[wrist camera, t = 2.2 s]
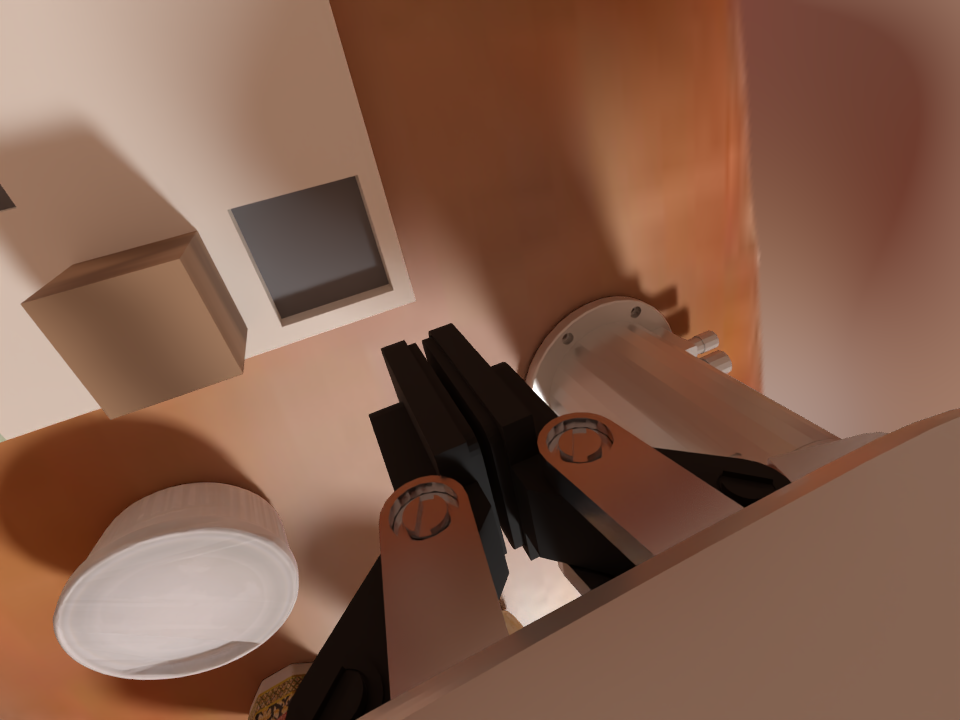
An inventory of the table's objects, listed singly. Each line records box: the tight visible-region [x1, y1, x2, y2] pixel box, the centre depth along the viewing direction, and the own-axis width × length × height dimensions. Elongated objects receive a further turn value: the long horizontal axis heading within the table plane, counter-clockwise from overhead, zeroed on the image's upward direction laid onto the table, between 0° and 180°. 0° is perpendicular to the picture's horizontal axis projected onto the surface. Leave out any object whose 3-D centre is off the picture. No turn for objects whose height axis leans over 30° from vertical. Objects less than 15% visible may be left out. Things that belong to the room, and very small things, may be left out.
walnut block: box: [21, 231, 248, 420], centre depth 19 cm, size 5×5×5 cm
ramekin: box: [53, 482, 299, 680], centre depth 27 cm, size 11×11×5 cm
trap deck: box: [0, 0, 416, 442], centre depth 19 cm, size 28×16×2 cm, turn 101°
